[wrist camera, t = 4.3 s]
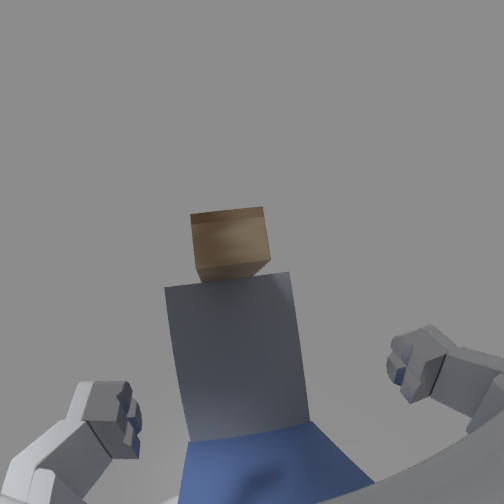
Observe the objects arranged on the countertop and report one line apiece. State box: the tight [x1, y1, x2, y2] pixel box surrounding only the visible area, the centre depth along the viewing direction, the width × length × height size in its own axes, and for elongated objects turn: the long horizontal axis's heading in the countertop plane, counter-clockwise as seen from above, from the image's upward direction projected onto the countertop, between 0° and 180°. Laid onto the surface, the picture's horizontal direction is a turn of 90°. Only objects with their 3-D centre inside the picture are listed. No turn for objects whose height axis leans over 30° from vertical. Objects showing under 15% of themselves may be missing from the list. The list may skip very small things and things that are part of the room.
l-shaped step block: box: [165, 272, 375, 504], centre depth 18 cm, size 10×24×28 cm, turn 7°
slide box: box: [190, 207, 271, 283], centre depth 26 cm, size 4×20×3 cm, turn 7°
